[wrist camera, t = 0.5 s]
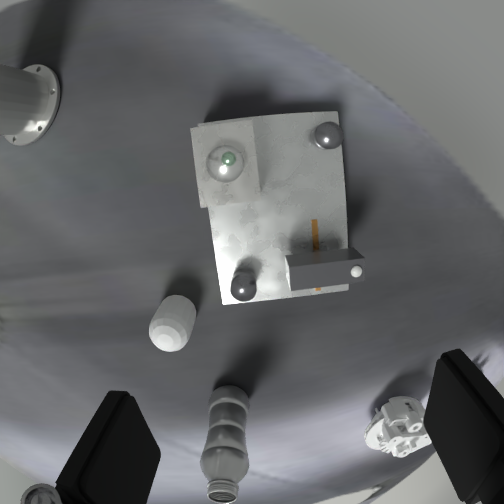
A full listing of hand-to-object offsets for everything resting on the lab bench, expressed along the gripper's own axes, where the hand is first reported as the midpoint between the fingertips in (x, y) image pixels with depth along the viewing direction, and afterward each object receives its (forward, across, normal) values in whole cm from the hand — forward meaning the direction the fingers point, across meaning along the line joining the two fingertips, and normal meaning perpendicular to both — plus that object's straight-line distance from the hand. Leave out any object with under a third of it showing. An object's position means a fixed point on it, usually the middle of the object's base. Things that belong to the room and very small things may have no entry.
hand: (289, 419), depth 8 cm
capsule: (+32, +14, +11) cm, 37 cm away
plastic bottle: (+33, +10, +27) cm, 44 cm away
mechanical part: (+34, -18, +38) cm, 54 cm away
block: (+30, -5, +4) cm, 30 cm away
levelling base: (+32, -1, -2) cm, 32 cm away
